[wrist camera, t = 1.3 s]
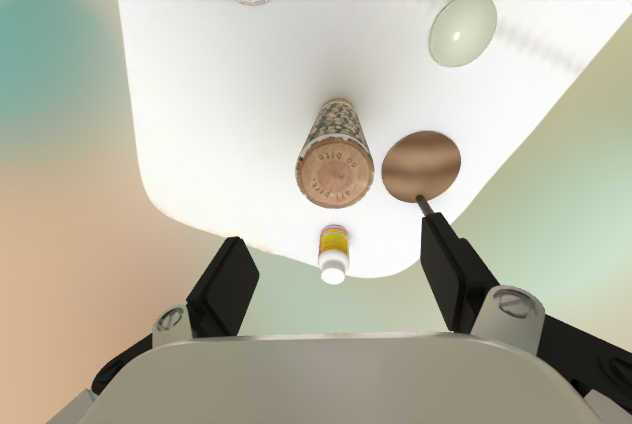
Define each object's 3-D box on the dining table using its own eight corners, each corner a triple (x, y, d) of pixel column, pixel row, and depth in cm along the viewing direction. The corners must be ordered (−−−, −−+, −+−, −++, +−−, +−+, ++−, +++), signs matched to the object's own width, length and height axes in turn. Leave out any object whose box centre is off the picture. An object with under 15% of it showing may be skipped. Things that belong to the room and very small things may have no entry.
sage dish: (430, 6, 31) (434, 3, 30) (494, -12, 30) (503, -16, 28) (427, 72, 35) (431, 73, 34) (484, 59, 34) (490, 59, 32)
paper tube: (345, 144, 42) (349, 219, 22) (312, 128, 41) (283, 191, 20) (363, 109, 39) (391, 157, 18) (328, 90, 38) (314, 119, 17)
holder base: (379, 139, 41) (399, 176, 27) (462, 124, 39) (531, 155, 25) (383, 204, 49) (401, 259, 35) (453, 195, 46) (503, 250, 32)
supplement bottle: (318, 225, 53) (313, 265, 42) (346, 223, 52) (348, 263, 41) (322, 246, 57) (318, 288, 46) (349, 245, 56) (351, 287, 45)
